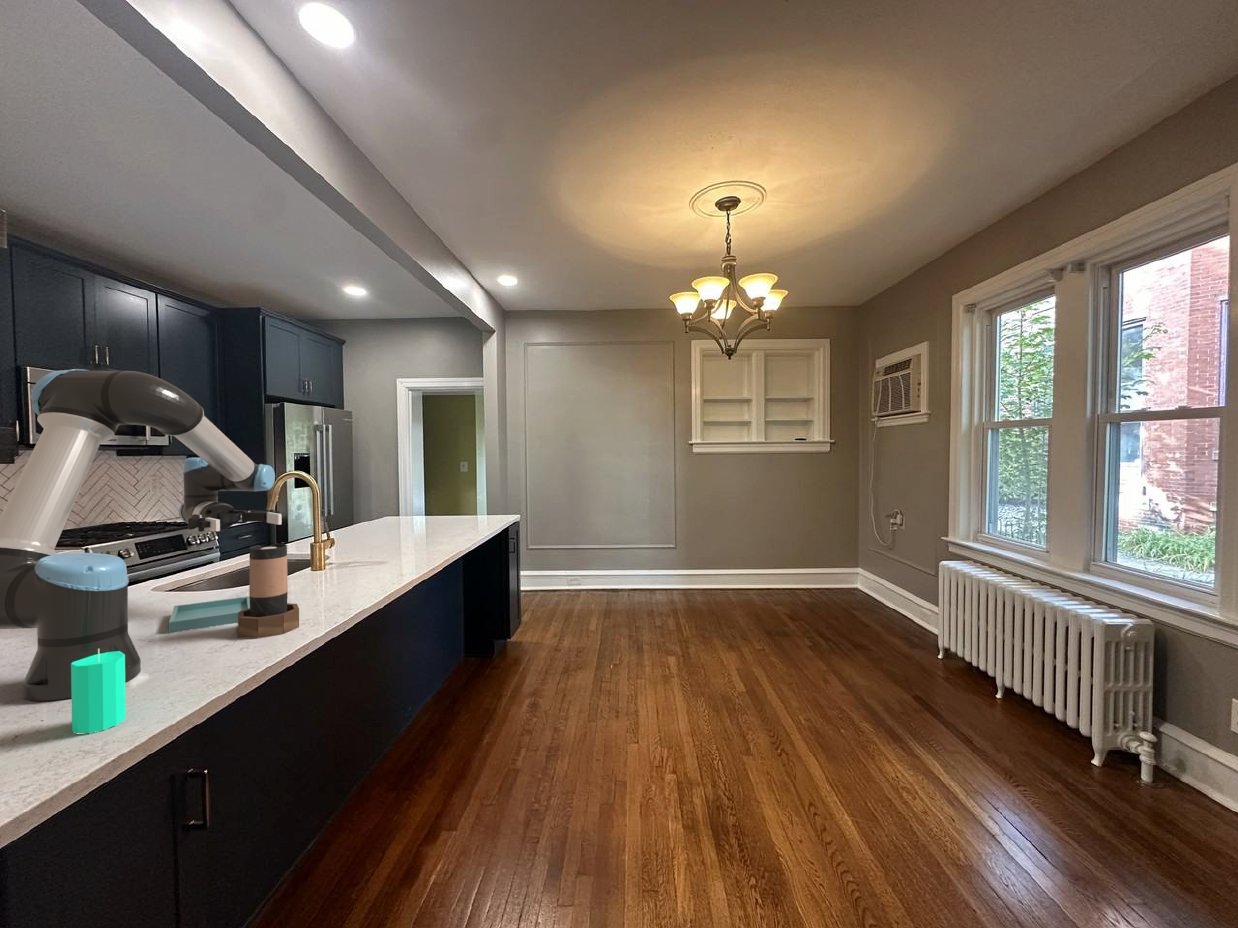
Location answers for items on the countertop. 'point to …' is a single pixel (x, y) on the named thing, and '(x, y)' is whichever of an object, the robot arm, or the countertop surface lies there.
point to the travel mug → (268, 580)
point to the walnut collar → (268, 623)
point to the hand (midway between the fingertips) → (250, 522)
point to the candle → (98, 692)
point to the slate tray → (207, 614)
